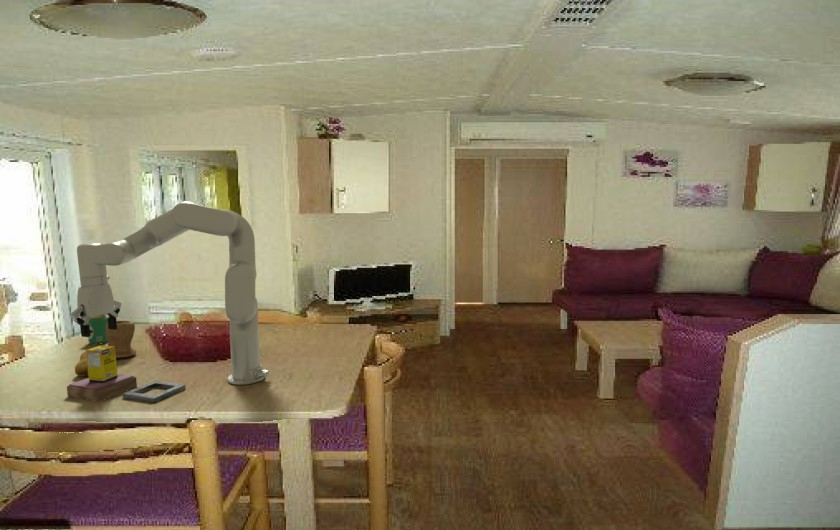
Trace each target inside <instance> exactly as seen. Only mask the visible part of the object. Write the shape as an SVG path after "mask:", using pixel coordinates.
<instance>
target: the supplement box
mask: <svg viewBox="0 0 840 530" xmlns="http://www.w3.org/2000/svg"><path fill="white" fill-rule="evenodd" d="M85 352H86V354H87V364H88V375H89V376H88V378H89V382H99V383H105V382H107V381H110V380H112V379H115V378H117V377H118V375H117V374H118V365H117V358H116V352H115V346H108V345H102V344H99V345H97V346H95V347H92V348H89V349H86V350H85Z"/></svg>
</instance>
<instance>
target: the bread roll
mask: <svg viewBox="0 0 840 530" xmlns="http://www.w3.org/2000/svg"><path fill="white" fill-rule="evenodd" d="M74 373H75V375H77V376H79V377H89V375H88V364H87V354H86V351H84V352H82V353H81V354H80V358H79V361H78V362H77V363H76V364H75V366H74Z"/></svg>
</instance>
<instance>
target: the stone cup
mask: <svg viewBox="0 0 840 530" xmlns="http://www.w3.org/2000/svg"><path fill="white" fill-rule="evenodd" d="M116 322H117V329H116V330H113V329H109V328H108V323H107V324H106V337H107V341H108V342H107V346H115V352H116V359H121V358H129V357H131V356H134V355H136V354H137V353H138V352H137V350H136V349H133V348H132V347H131V345H132V340H133V338H134V335H135V329H136V327H135V325H136V324H135V323H134V321H131V320H116Z"/></svg>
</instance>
